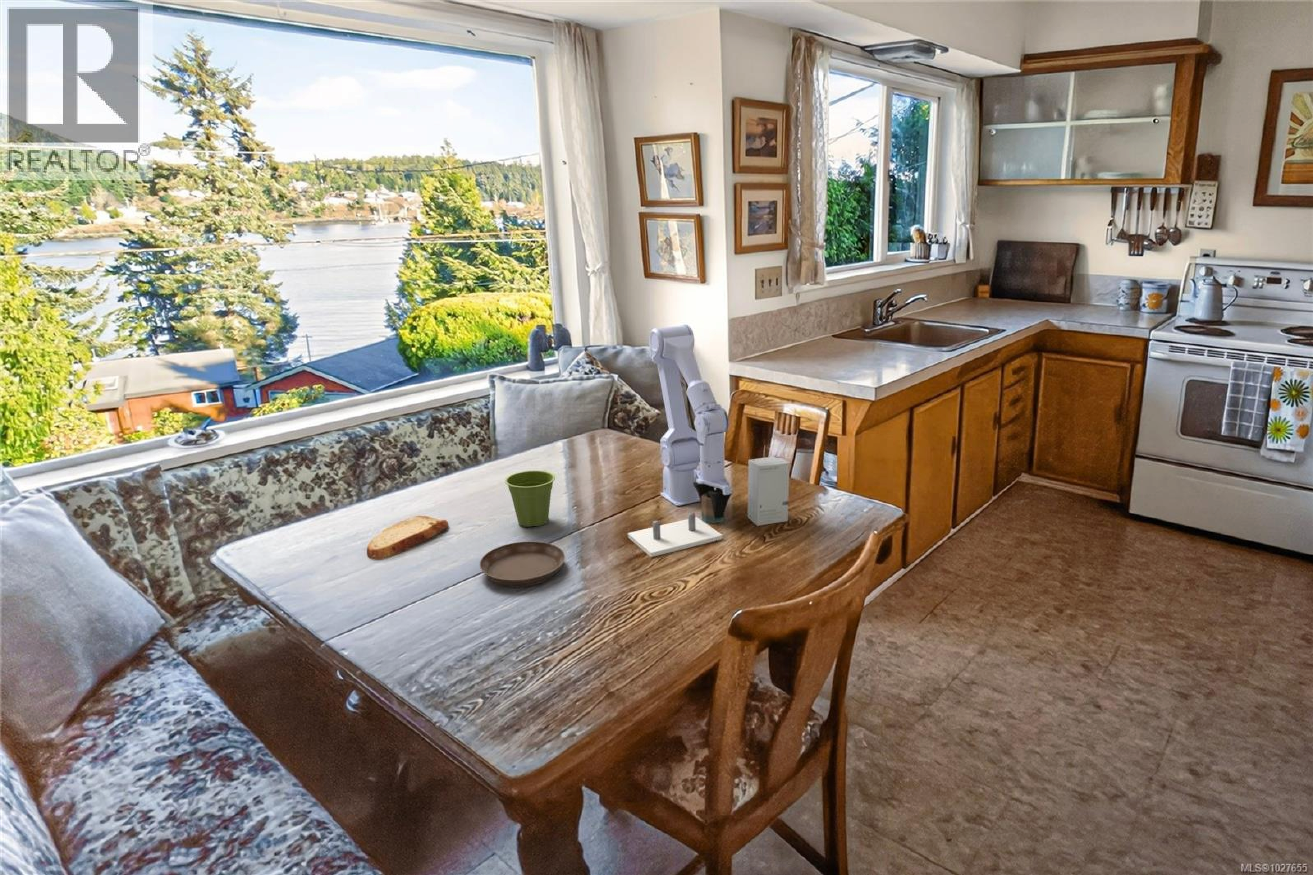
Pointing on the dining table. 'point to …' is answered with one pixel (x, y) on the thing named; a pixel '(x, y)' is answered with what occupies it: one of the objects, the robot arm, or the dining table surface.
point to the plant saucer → (522, 563)
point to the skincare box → (768, 490)
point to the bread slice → (404, 536)
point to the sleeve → (708, 510)
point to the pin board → (674, 536)
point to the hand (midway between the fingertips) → (713, 513)
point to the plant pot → (531, 496)
